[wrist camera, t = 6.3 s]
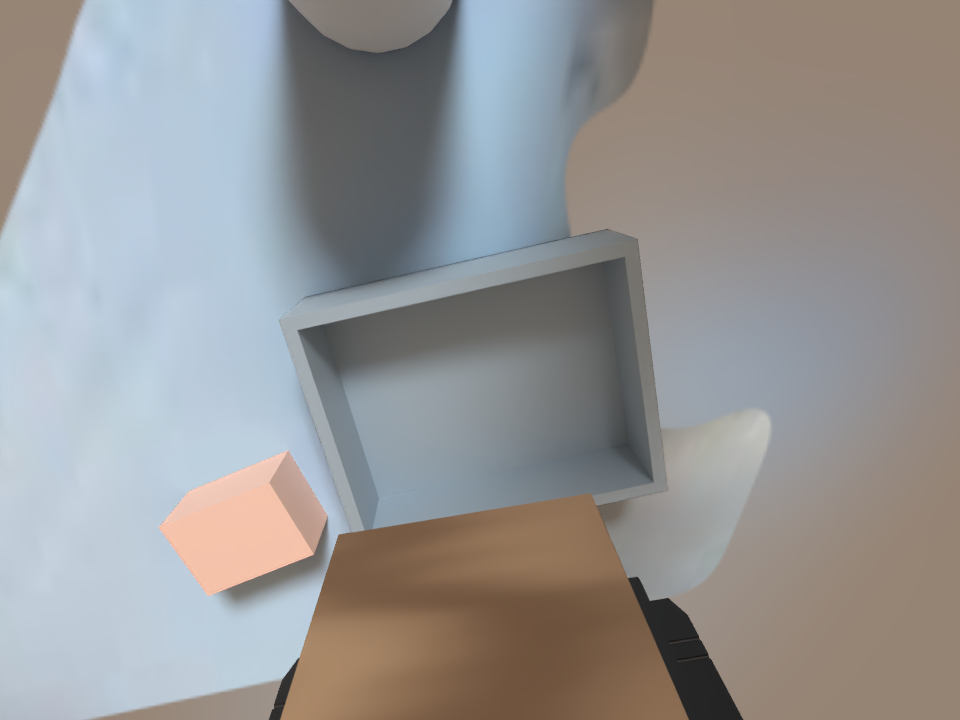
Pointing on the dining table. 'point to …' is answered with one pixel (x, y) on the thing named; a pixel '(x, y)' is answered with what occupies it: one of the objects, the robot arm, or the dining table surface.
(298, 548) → the light box
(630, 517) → the dining table surface
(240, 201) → the dining table surface
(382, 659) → the block
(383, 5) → the can
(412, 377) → the tote
